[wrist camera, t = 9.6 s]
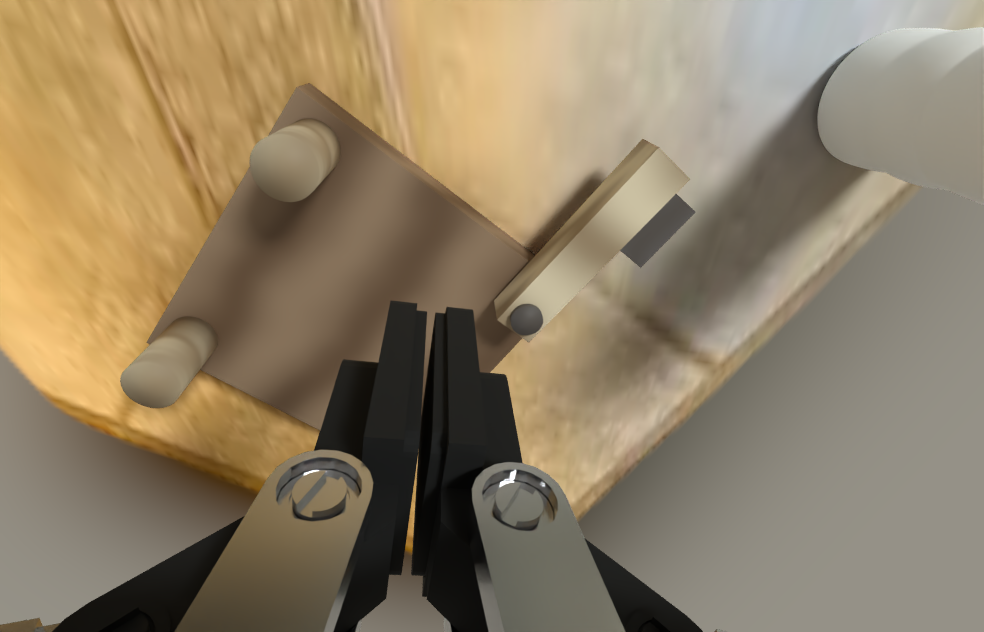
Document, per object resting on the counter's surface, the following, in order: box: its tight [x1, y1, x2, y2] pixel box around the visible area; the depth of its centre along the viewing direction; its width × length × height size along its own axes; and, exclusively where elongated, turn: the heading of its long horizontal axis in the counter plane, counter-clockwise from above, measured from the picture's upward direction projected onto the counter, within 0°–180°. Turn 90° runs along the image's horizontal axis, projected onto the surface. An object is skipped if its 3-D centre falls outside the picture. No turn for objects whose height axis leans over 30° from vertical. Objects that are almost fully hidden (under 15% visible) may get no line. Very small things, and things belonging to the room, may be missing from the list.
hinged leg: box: [494, 139, 690, 342], centre depth 28 cm, size 12×2×3 cm, turn 140°
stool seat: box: [120, 83, 695, 430], centre depth 29 cm, size 19×26×8 cm
